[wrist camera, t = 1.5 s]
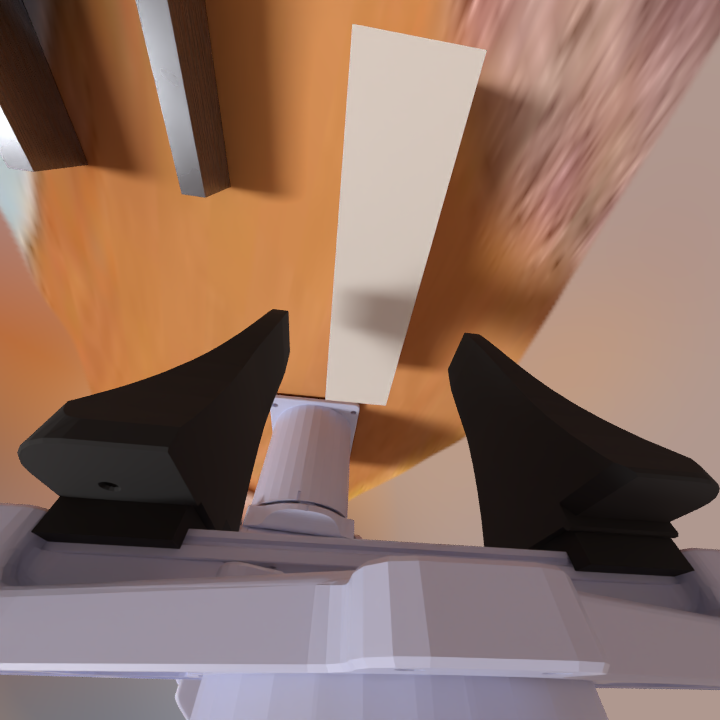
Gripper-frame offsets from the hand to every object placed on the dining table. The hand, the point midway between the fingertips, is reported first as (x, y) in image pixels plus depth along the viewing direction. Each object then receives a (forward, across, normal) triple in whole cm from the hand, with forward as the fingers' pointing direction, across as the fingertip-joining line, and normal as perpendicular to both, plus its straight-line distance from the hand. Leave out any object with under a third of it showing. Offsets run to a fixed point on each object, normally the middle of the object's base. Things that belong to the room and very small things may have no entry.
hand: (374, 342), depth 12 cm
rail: (+8, 0, -1) cm, 8 cm away
